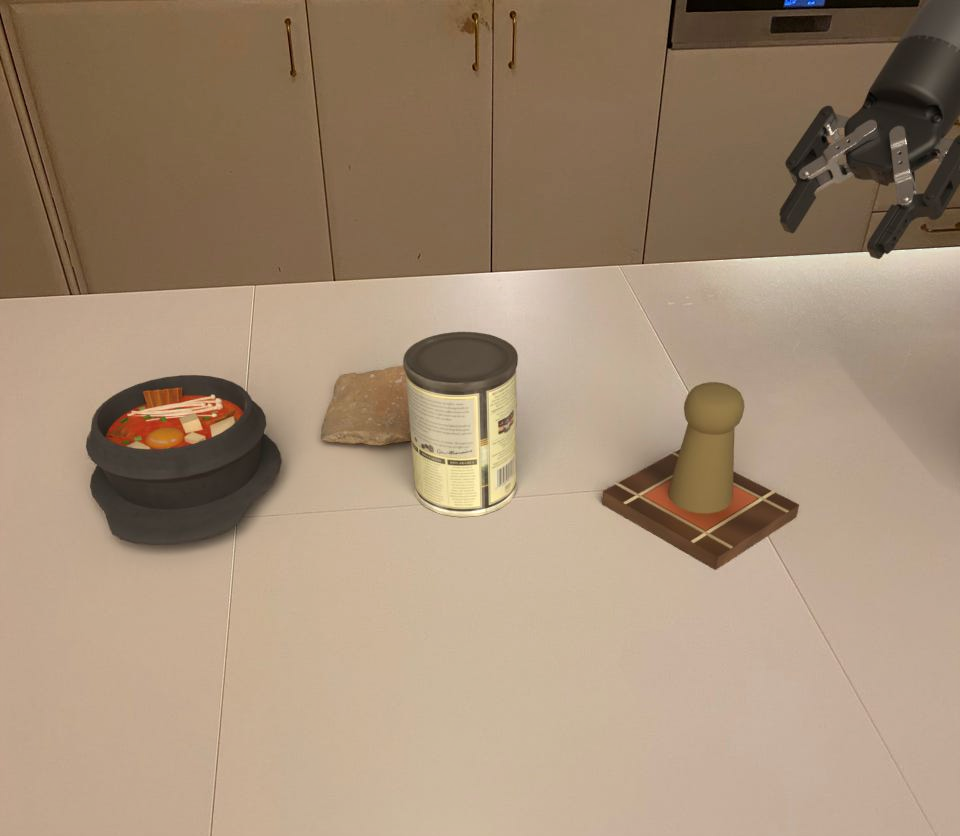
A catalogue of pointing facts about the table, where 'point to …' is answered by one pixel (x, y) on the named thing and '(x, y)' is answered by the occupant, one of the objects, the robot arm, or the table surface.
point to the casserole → (179, 459)
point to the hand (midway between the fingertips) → (827, 240)
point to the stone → (369, 408)
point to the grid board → (700, 532)
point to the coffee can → (462, 422)
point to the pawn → (707, 449)
